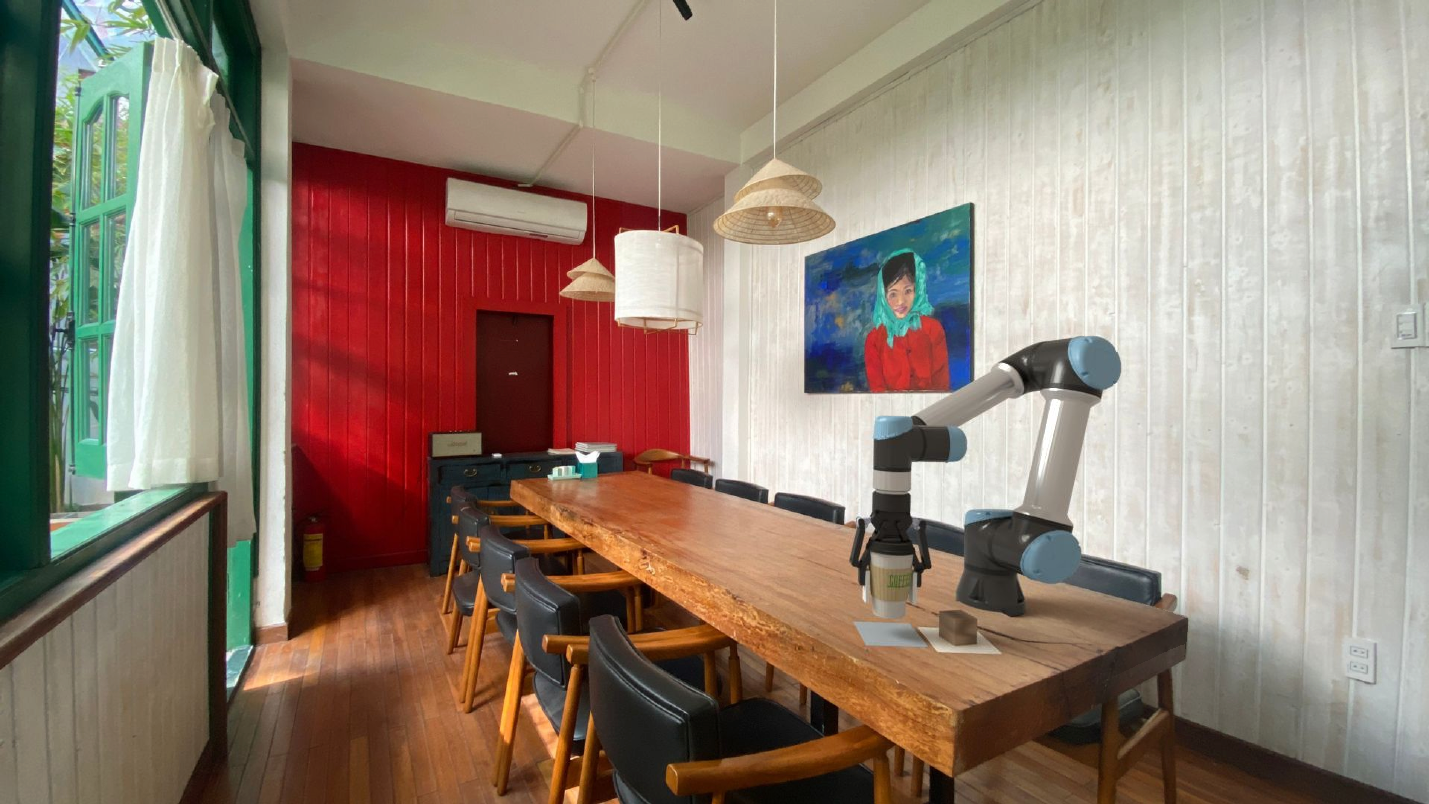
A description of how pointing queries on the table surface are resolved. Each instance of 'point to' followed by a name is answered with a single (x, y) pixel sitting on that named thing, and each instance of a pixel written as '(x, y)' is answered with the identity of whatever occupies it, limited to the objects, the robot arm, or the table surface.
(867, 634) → the pad
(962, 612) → the walnut block
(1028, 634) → the table surface
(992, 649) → the pad
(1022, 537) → the robot arm
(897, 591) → the coffee cup
